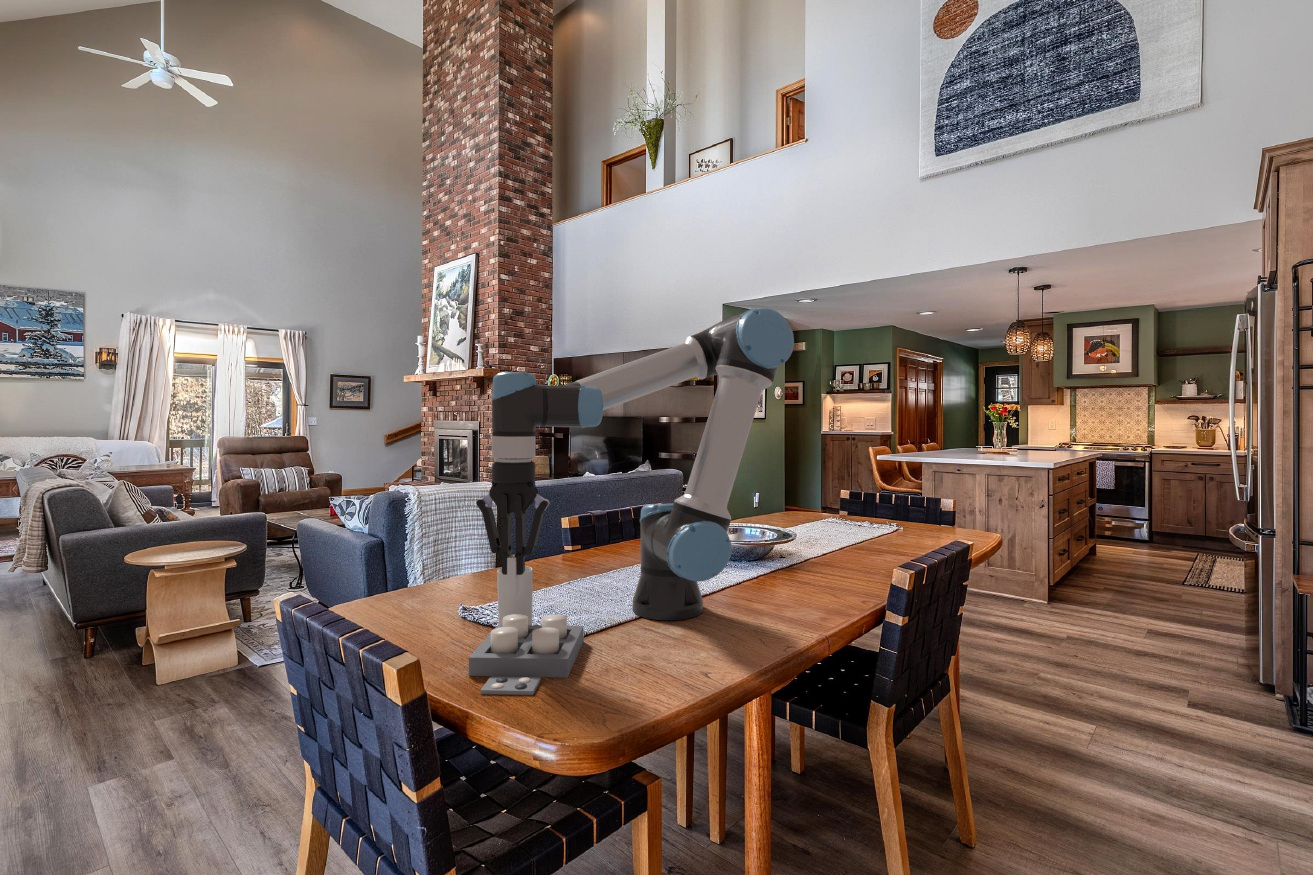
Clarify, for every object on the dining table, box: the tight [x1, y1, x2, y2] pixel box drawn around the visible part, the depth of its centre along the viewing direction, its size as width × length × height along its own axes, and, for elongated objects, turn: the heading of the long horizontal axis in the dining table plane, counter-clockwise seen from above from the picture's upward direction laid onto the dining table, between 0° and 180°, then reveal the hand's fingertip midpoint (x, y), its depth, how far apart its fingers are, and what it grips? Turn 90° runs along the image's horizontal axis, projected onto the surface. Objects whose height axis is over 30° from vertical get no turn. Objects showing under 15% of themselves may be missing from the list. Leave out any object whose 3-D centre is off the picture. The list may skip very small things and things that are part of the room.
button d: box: [490, 627, 518, 654], centre depth 107 cm, size 4×4×4 cm
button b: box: [503, 614, 528, 639], centre depth 114 cm, size 4×4×4 cm
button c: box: [532, 627, 559, 654], centre depth 106 cm, size 4×4×4 cm
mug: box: [496, 565, 534, 625], centre depth 125 cm, size 10×7×12 cm, turn 25°
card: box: [480, 676, 542, 696], centre depth 98 cm, size 8×5×1 cm, turn 87°
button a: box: [541, 614, 568, 639], centre depth 113 cm, size 4×4×4 cm
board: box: [468, 624, 585, 679], centre depth 110 cm, size 16×16×3 cm
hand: (513, 592), depth 113 cm, fingers closed
